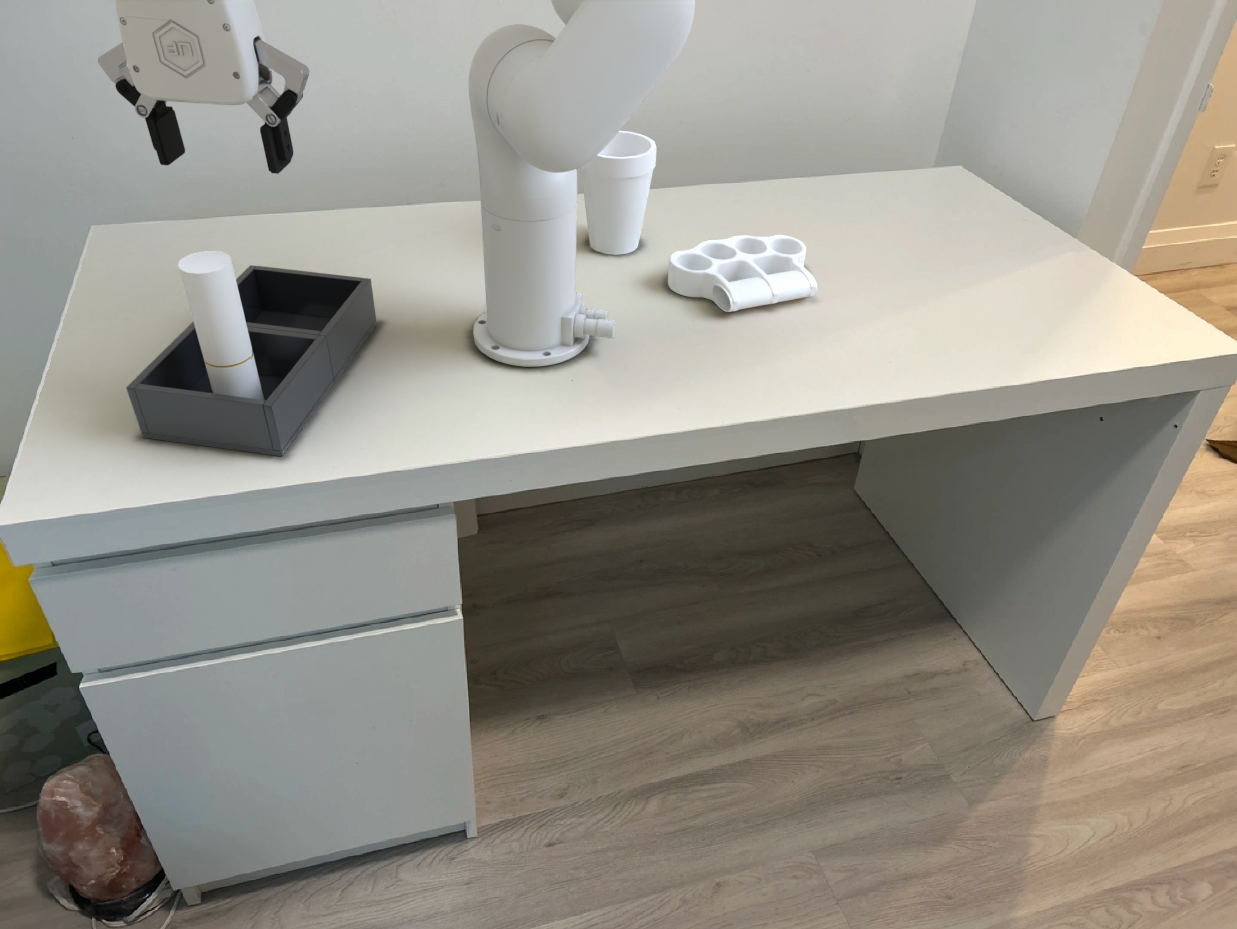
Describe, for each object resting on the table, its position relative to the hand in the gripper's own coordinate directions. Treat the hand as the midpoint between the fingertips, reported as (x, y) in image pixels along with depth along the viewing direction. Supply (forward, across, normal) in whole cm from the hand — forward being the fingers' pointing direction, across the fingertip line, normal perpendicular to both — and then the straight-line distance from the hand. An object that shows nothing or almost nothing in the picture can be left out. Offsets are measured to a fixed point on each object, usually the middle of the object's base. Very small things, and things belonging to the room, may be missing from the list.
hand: (227, 163), depth 82 cm
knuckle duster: (+24, +45, +31) cm, 60 cm away
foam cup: (+24, +28, +38) cm, 53 cm away
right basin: (+23, -1, +7) cm, 24 cm away
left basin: (+22, -2, -5) cm, 23 cm away
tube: (+22, -2, -5) cm, 23 cm away
